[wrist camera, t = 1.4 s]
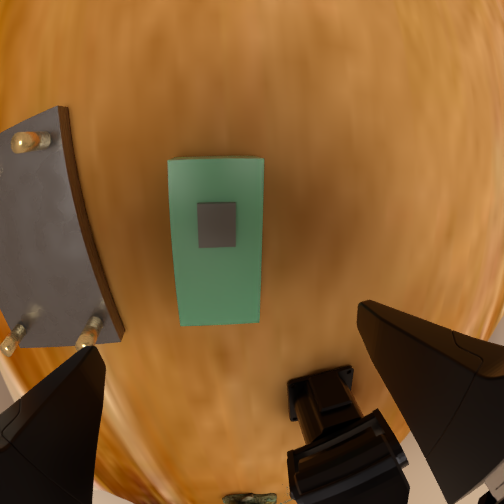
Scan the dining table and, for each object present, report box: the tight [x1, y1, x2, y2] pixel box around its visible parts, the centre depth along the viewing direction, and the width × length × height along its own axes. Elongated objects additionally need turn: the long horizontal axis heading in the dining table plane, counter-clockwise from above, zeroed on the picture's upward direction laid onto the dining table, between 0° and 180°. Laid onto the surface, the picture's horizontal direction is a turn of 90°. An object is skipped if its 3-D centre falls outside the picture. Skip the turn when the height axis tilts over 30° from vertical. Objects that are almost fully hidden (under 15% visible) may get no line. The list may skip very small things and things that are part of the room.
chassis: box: [0, 106, 125, 357], centre depth 15 cm, size 17×11×4 cm, turn 7°
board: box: [168, 156, 264, 326], centre depth 18 cm, size 10×5×4 cm, turn 179°
